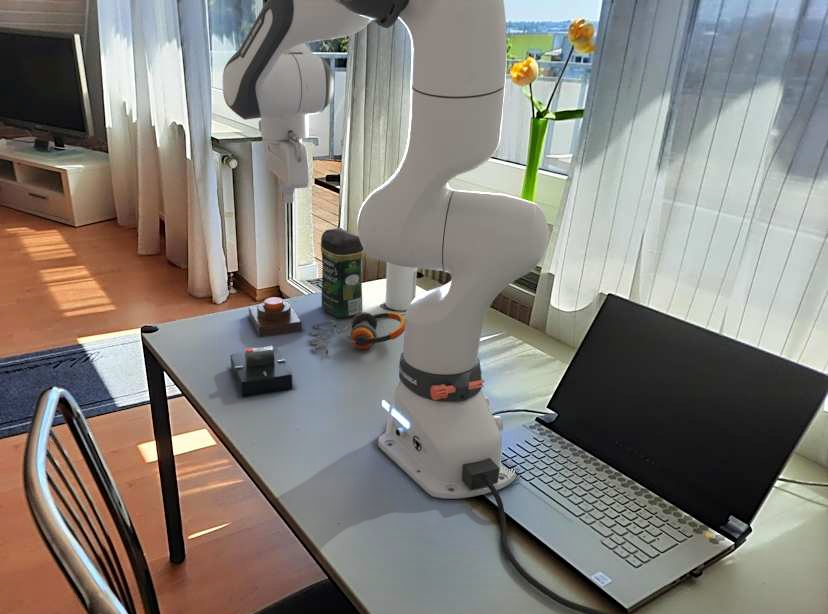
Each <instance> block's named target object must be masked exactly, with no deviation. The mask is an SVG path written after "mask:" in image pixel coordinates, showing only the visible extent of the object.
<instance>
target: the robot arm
mask: <svg viewBox="0 0 828 614" xmlns="http://www.w3.org/2000/svg"><path fill="white" fill-rule="evenodd" d="M398 19H399V20H400V21H401V22H402V23H403V24H404V26H405V28H406V29H407V31H408V34H409V36H410V41H411V64H410V65H411V66H410V107H409V109H410V110H409V123H408V124H409V127H408V137H407V144H406V148H405V152H404V154H403V155H404V156H403V157H402V160H401V162H400V164H399V166H398V168H397V169H396V171H395V172H394V174H393V175H392V176H391V177H390V178H389V179H388V180H387V181H386V182H385V183H384V184H382V185H381V186H379V187H378V188H376V189H375V190H373V191H372V192H371V193H370V194H369V195H368V196H367V197H366V199H365V200H364V202H363V203H362V205H361V207H360V210H359V212H358V216H357V236H359V239H360V242H361V244H362V246H363V251H365V253H366V254H367V256H368V257H370V258H374V259H376V260H379V261H381V262H384V263H387V262H388V263H391V264H394V265H397V266H403V267H412V268H417V269H420V270H421V269H422V270H429V271H431V270H432V271H440V272H445V273H447V274H449V275H450V277H451V279H450V281H449V282H447V283H446V284H443V285H441V286H438V287H435V288H432V289H429V290H427V291H425V292H422V293H421V294H418V296H415V299H414V300H413V301H412V302H411V303H410V305H409V306H408V308H407V310H405V314H404V315H405V316H404V319H405V331H404V332H403V335H404V336H403V350H402V351H401V353H400V358H399V362H398V370H399V371H398V378H399V382H398V385H397V387H396V388H395V390H394V391H393V393H392V394H391V396H390V399H389V403H388V402H387V401H386V400H385V399H383V400H382V401H381V406H382V407H383V408H384V409H385V410H386V411H387V419H386V420H387V421H386V428H385V432H384V433H383V434H381V435H379V437H378V440H377V441H378V442H377V446H378V448H379V449H380V450H381V451H382V452H383V453H384V454H385V455H387V456H388V457H389V458H390V459H391V460H392V461H393V462H394V463H395V464H396V465H397V466H398V467H399V468H401V470H403V471H404V473H406V474H407V476H409V477H410V478H411V479H412V480H413V481H414V482H415V483H416V484H417V485H418V486H419V487H420V488H422V489H423V490H424V491H425V492H426V493H427V494H428V495H429V496H431V497H433V498H439V499H454V500H456V499H457V500H458V499H466V498H473V497H478V496H482V495H486V494H490V493H491V494H492V495H493V498H494V499H495V502H496V505H497V510H498V511H497V512H498V516H499V523H500V539H501V541H500V542H501V546H502V549H503V551H504V554H505V556H506V557H507V559H508V561H509V562H510V564H511V565H512V567H513V568H514V569H515V571H516V572H517V573H518V574H519V575H520V576H521V577H522V578H523V579H524V580H525V581H526V582H528V583H529V584H530V585H532V586H533V587H534V588H535V589H536V590H538V591H539V592H541V593H542V594H543V595H545V596H547V597H548V598H550V599H551V600H553V601H554V602H555V603H557V604H560V605H562V606H563V607H566V608H569V609H570V610H574V611H577V612H580V613H582V614H609V612H606V611H603V610H600V609H597V608H592V607H589V606H585V605H583V604H580V603H577V602H574V601H571V600H568V599H567V598H564V597H562V596H560V595H559V594H557V593H555V592H554V591H552V589H549V588H547V587H546V586H545V585H543V584H542V583H541V582H539V581H538V580H537V579H535V578H534V577H533V576H532V575H530V574H529V573H528V572H527V571H526V570H525V569H524V567H522V565H521V564H520V563H519V562H518V561H517V559H516V558H515V556H514V555H513V553H512V551H511V549H510V547H509V543H508V529H507V528H508V527H507V518H506V514H505V513H506V512H505V508H504V503H503V500H502V497H501V495H500V493H499V490H501V489H503V488H505V487H507V486H509V485H510V484H511V483H513V482H514V481H515V479H516V478H517V472H516V473H515V470H516V469H515V470H514V471H513V469H511V471H510V469H509V472H508V469H507V470H506V471H505V469H506V467H505V468H504V469H503V467H501V455H502V448H503V439H502V434H501V432H502V431H503V429H504V421H503V418H502V417H501V416H500V415H494V416H493V413H492V411H491V408H490V399H489V396H488V397H487V396H485V395H484V392H483V390H482V388H484V387H485V386H484V384H483V383H485V379H483V378H482V374H483V373H482V367H481V362H480V358H479V350H480V343H481V336H482V332H483V327H484V322H485V318H486V316H487V313H488V311H489V309H490V307H491V305H492V303H493V302H494V300H495V299H496V298H497V297H498V296H499V295H500V293H501V292H502V291H504V290H505V289H506V288H507V287H508V286H510V285H511V284H512V283H514V282H515V281H517V280H518V279H520V278H522V277H524V276H526V275H527V274H530V273H531V272H532V271H533V270H534V269H535V268H536V267H537V266H538V265H539V264H540V263H541V261H542V259H543V258H544V255H545V254H546V252H547V248H548V245H549V239H550V231H549V224H548V220H547V218H546V215H545V214H544V211H543V209H541V207H540V206H539V205H538V203H536V202H532V201H531V200H530V201H529V200H526V199H523V198H519V197H517V196H512V195H509V194H505V193H495V192H482V191H473V190H472V191H471V190H459V189H455V188H452V187H450V186H449V182H450V181H451V180H453V179H455V178H456V177H459V176H460V175H464V174H466V173H468V172H471V171H473V170H475V169H477V168H479V167H481V166H482V165H484V164H485V163H487V162H488V161H489V160H490V159H491V158H492V157H493V156H494V155H495V153H496V152H497V150H498V148H499V146H500V142H501V136H502V135H501V134H502V125H503V115H504V113H503V112H504V104H505V103H504V102H505V93H506V80H507V79H506V78H507V62H508V45H507V44H508V38H507V37H508V35H507V21H506V20H507V19H506V10H505V1H504V0H266V1H265V3H264V5H263V6H262V8H261V10H260V12H259V14H258V15H257V17H256V19H255V21H253V24H252V26H251V28H250V29H249V31H248V33H247V35H246V37H244V38H245V39H244V40H243V42H242V43H241V46H240V47H239V49H238V50H237V51H236V52H235V53H234V54H233V55H232V56H231V57H230V58H229V60H228V61H227V63H226V64H225V66H224V67H223V68H224V69H223V71H222V72H223V73H222V93H223V99H224V102H225V104H226V105H227V107H229V109H230V110H231V111H232V112H233V113H235V114H236V115H237V116H238V117H240V118H241V119H243V120H244V121H246V120H253V119H254V120H255V119H259V121H258V130H259V132H260V137H261V138H262V146H263V154H264V161H265V165H266V169H268V170H269V171H270V172H272V173H273V174H274V176H276V177H277V178H278V179H277V182H278V186H279V190H280V199H281V200H282V201H283V202H284V203H285V204H292V203H294V194H295V189H305V188H308V187H309V184H310V169H309V155H308V149H307V146H306V144H304V143H303V140H306V139H308V138H309V137H310V136H309V135H310V134H309V132H310V131H309V115H316V114H319V113H323V112H324V111H325V110H326V109H327V108H328V106H329V105H330V103H331V102H332V100H333V98H334V91H335V89H334V87H335V80H334V79H335V78H334V72H333V68H332V67H331V66H330V64H329V63H328V62H327V61H326V60H325V59H324V58H323V57H322V56H321V55H316V54H315V53H313V52H312V51H311V50H310V49H309V48H308V47H307V45H306V44H307V43H308V44H309V43H313V42H320V41H326V40H327V41H328V40H333V39H334V40H335V39H340V38H341V39H342V38H346V37H347V38H348V37H350V36H353V35H355V34H357V33H359V32H360V31H362V30H363V29H364V28H365V27H366V26H367V25H369V24H370V23H371V22H372V21H373V23H375V24H376V25H377V26H378V27H380V28H381V29H382V28H383V29H385V30H387V29H389V28H391V27H393V25H394V24H395V23H396V22H397V20H398ZM504 463H507V462H504ZM512 471H513V473H512ZM507 472H508V473H507ZM514 473H515V474H514ZM509 474H510V475H509ZM513 475H514V476H513ZM512 476H513V477H512ZM511 477H512V478H511ZM507 480H508V481H507ZM484 488H485V489H484ZM486 488H487V489H486ZM478 490H479V491H478Z"/></svg>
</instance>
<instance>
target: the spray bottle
mask: <svg viewBox="0 0 828 614" xmlns="http://www.w3.org/2000/svg"><path fill="white" fill-rule="evenodd" d="M417 276H418V268H412V267H403V266H397V265H394V264H391V263H388V262H386V277H385V278H386V279H385V282H386V283H385V306H386V308H388V309H390V310H393V311H394V310H395V311H407V308H408V306H409V305H410V303H411V302H412V301H413V300H414V299H415V298H416V295H417V294H416V293H417V291H416V290H417V278H418V277H417Z"/></svg>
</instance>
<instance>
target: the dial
mask: <svg viewBox="0 0 828 614" xmlns="http://www.w3.org/2000/svg"><path fill="white" fill-rule="evenodd" d="M244 353H245V360H246V365H247V368H250V367H257V366H263V365H270V364H275V359H274V347H273V345H266V346H259V347H246V348H245V349H244Z"/></svg>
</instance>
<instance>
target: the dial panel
mask: <svg viewBox="0 0 828 614" xmlns="http://www.w3.org/2000/svg"><path fill="white" fill-rule="evenodd" d="M273 348H274V347H273ZM274 359H275V364H270V365H263V366H257V367H250V368H247V365H246V360H245V352H240V353H233V354H230V367H231V368H230V369H231V371H232V374H233V376H234V379H235V381H236V384H237V386H238V389H239V392H240V395H241V397H242V398H245V397H251V396H257V395H264V394H270V393H276V392H281V391H282V392H283V391H288V390H293V373H292V372H291V370H290V369H289V366H288V364H287V363H286V359H285V358H283V356H282V354H281V352H280V350H279V348H278V347H276V348H274Z"/></svg>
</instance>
